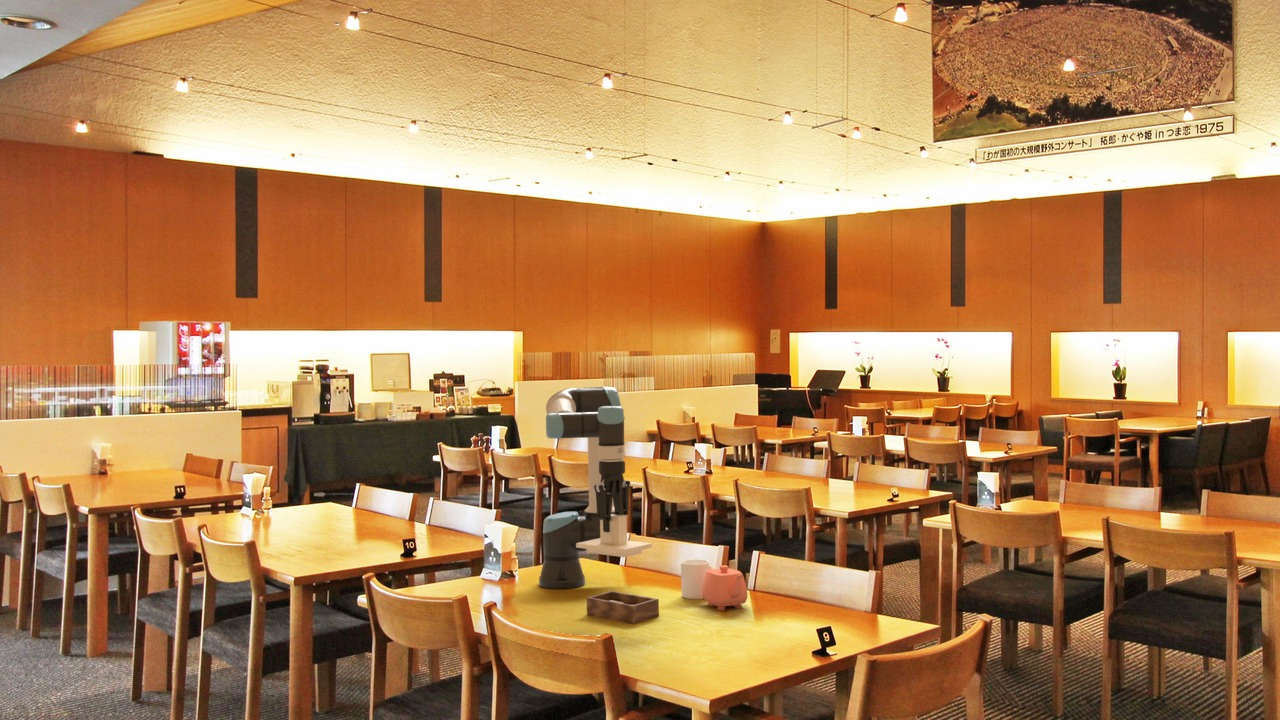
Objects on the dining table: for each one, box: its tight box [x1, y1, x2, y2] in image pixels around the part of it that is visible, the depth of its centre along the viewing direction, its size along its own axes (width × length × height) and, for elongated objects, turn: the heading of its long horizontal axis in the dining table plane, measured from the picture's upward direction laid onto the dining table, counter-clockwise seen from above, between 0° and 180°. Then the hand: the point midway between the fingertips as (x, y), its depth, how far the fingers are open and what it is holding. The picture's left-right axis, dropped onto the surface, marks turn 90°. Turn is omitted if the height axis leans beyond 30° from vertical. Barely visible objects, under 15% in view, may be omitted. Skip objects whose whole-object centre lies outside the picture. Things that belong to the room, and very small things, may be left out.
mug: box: [680, 558, 714, 600], centre depth 331 cm, size 9×12×11 cm
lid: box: [576, 514, 653, 558], centre depth 305 cm, size 19×12×11 cm, turn 51°
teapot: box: [702, 564, 748, 612], centre depth 316 cm, size 20×12×12 cm, turn 25°
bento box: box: [586, 590, 660, 625], centre depth 307 cm, size 18×11×5 cm, turn 50°
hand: (613, 541), depth 304 cm, fingers closed on lid, 3 cm apart
